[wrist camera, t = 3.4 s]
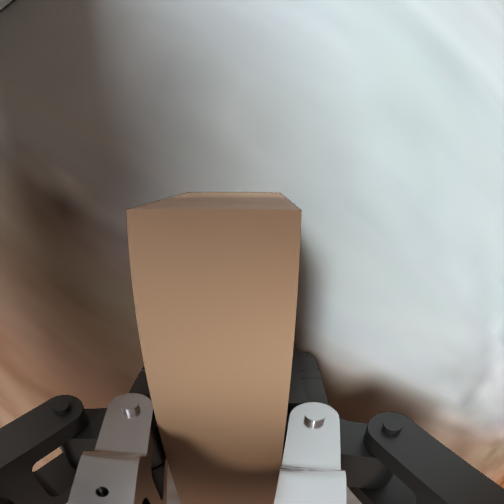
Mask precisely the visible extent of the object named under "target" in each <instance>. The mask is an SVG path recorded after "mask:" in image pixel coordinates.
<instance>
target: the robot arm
mask: <svg viewBox="0 0 504 504" xmlns="http://www.w3.org/2000/svg"><path fill="white" fill-rule="evenodd" d="M11 1H12V0H0V10H1V9H3V8H4V7H5V6H6V5H7V4H8V3H10V2H11ZM58 447H60V449H61V450H62V452H63V453H62V454H60V455H59V456H57V457H56V458H54V459H53V460H51V461H50V462H49V463H47V464H46V465H44V466H43V467H41V468H40V469H38V470H37V471H35V472H32V468H33V465H34V464H35V463H36V462H37V461H39V460H40V459H42V458H43V457H45V456H46V455H48V454H49V453H51V452H52V451H54V450H55V449H57V448H58ZM282 454H283V460H282V466H281V469H280V474H279V479H278V485H277V490H276V495H275V500H274V504H346V486H348V488H349V490H350V491H351V492H352V493H353V494H354V495H355V496H356V497H357V499H358V500H359V501H360V502H361V503H362V504H504V489H503V488H502V487H501V486H499V485H498V484H496V483H495V482H494V481H492V480H491V479H489V478H488V477H487V476H485V475H484V474H482V473H481V472H480V471H478V470H477V469H475V468H474V467H473V466H471V465H470V464H469V463H467V462H466V461H464V460H463V459H462V458H460V457H459V456H458V455H456V454H455V453H454V452H452V451H451V450H450V449H448V448H447V447H446V446H444V445H443V444H442V443H440V442H439V441H438V440H436V439H435V438H434V437H432V436H431V435H430V434H428V433H427V432H426V431H424V430H423V429H422V428H421V427H419V426H418V425H417V424H415V423H414V422H413V421H411V420H410V419H409V418H407V417H406V416H404V415H402V414H399V413H395V412H383V413H379V414H377V415H375V416H374V417H372V418H371V420H370V421H369V423H368V424H367V423H359V422H352V421H347V420H344V419H342V418H340V417H339V415H338V413H337V412H336V410H334V409H333V408H332V407H330V406H329V404H328V400H327V397H326V393H325V389H324V386H323V382H322V379H321V375H320V372H319V368H318V365H317V361H316V360H315V359H314V358H313V357H312V356H311V355H310V354H309V353H297V351H296V346H295V341H294V347H293V358H292V369H291V380H290V390H289V400H288V409H287V418H286V427H285V435H284V443H283V451H282ZM167 474H168V462H167V458H166V455H165V451H164V448H163V444H162V441H161V437H160V433H159V429H158V425H157V421H156V417H155V413H154V409H153V405H152V401H151V396H150V391H149V387H148V382H147V377H146V372H145V367H144V366H143V368H142V371H141V372H140V373H139V375H138V377H137V379H136V381H135V383H134V384H133V386H132V388H131V390H130V392H129V393H126V394H122V395H119V396H117V397H115V398H114V399H113V400H112V401H111V402H110V403H109V405H108V408H102V409H84V407H83V404H82V402H81V401H80V400H79V399H78V398H77V397H74V396H71V395H60V396H56V397H53V398H51V399H50V400H48V401H46V402H45V403H43V404H41V405H39V406H38V407H36V408H34V409H33V410H31V411H29V412H28V413H26V414H24V415H22V416H21V417H19V418H17V419H16V420H14V421H12V422H10V423H9V424H7V425H5V426H4V427H2V428H0V504H66V503H67V502H68V503H67V504H167Z"/></svg>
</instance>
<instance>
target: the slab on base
mask: <svg viewBox="0 0 504 504" xmlns="http://www.w3.org/2000/svg"><path fill="white" fill-rule="evenodd" d="M301 211H302V210H301V209H299V208H298V207H297V206H296V205H295V204H293V203H292V202H291V201H290V200H289V199H287V198H286V197H285V196H284V195H283V194H281V193H273V192H187V193H183V194H180V195H176V196H173V197H169V198H165V199H162V200H158V201H155V202H152V203H148V204H145V205H141V206H138V207H135V208H131V209H128V210H126V217H127V234H128V248H129V260H130V270H131V280H132V289H133V297H134V305H135V312H136V319H137V326H138V333H139V339H140V345H141V351H142V356H143V362H144V367H145V372H146V377H147V382H148V387H149V391H150V396H151V401H152V405H153V409H154V413H155V417H156V421H157V425H158V429H159V433H160V437H161V441H162V444H163V448H164V451H165V455H166V458H167V462H168V474H167V504H274V500H275V495H276V490H277V485H278V479H279V474H280V469H281V466H282V460H283V454H282V451H283V443H284V435H285V427H286V418H287V409H288V400H289V390H290V380H291V369H292V358H293V347H294V335H295V322H296V308H297V293H298V276H299V258H300V237H301ZM346 504H362V503H361V502H360V501H359V500H358V499H357V497H356V496H355V495H354V494H353V493H352V492H351V491H350V490H349V488H348V486H346Z"/></svg>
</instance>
